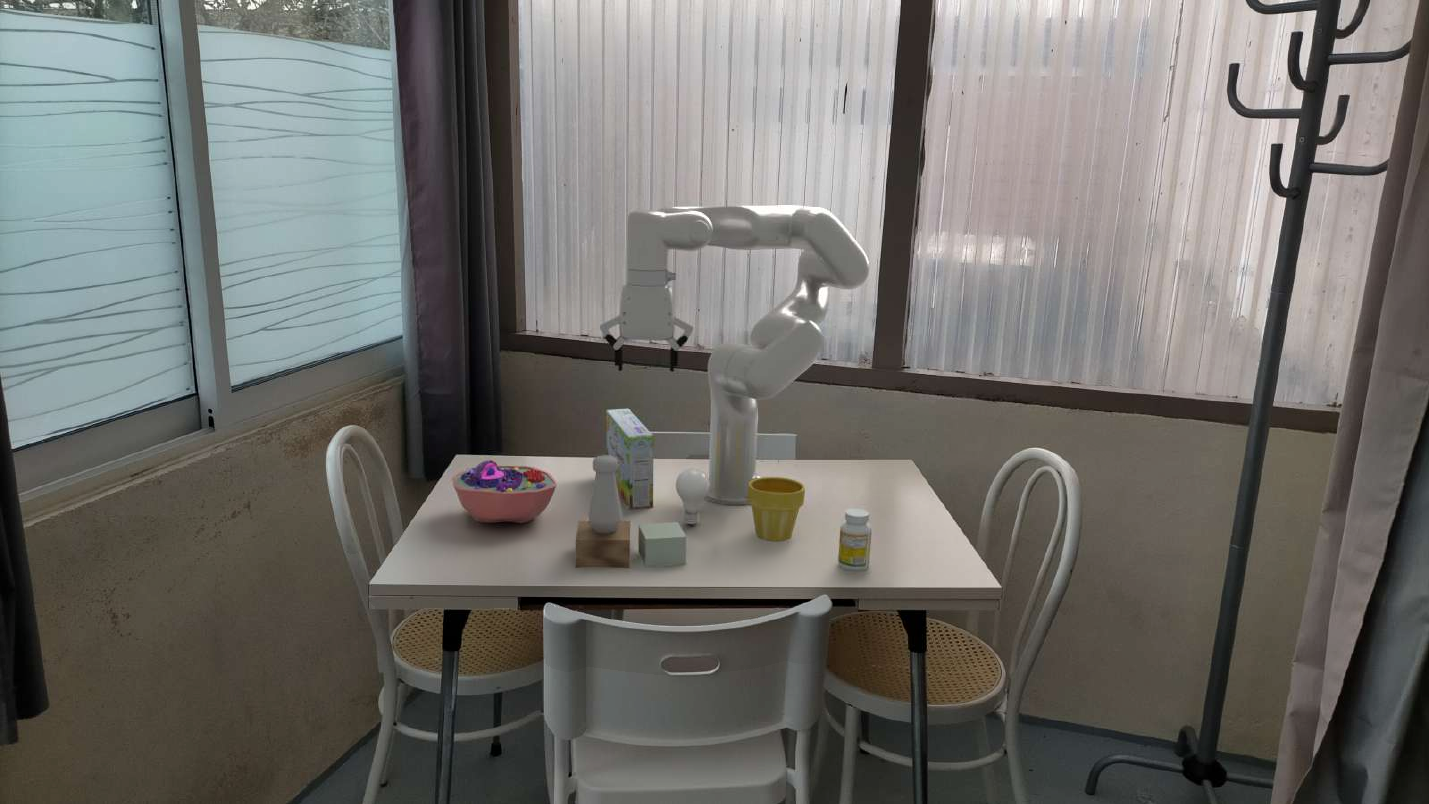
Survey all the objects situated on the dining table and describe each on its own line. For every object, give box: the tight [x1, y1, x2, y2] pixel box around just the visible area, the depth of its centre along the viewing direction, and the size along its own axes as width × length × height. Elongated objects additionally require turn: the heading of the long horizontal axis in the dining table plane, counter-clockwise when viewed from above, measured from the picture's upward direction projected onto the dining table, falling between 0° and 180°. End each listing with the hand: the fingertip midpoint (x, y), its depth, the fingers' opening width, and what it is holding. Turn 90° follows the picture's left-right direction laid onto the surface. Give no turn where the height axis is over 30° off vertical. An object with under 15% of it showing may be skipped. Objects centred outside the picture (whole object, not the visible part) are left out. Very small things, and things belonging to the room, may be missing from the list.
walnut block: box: [575, 520, 631, 569], centre depth 176 cm, size 9×9×5 cm
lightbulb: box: [675, 467, 710, 526], centre depth 192 cm, size 6×6×11 cm
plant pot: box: [748, 476, 806, 542], centre depth 188 cm, size 10×10×10 cm
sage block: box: [637, 521, 688, 568], centre depth 176 cm, size 7×7×5 cm
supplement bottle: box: [837, 508, 873, 571], centre depth 176 cm, size 5×5×10 cm
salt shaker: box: [587, 454, 623, 534], centre depth 174 cm, size 6×6×13 cm
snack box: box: [605, 408, 655, 510], centre depth 209 cm, size 21×6×15 cm, turn 18°
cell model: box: [451, 459, 558, 524], centre depth 191 cm, size 17×20×11 cm
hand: (646, 369), depth 192 cm, fingers open, 9 cm apart
